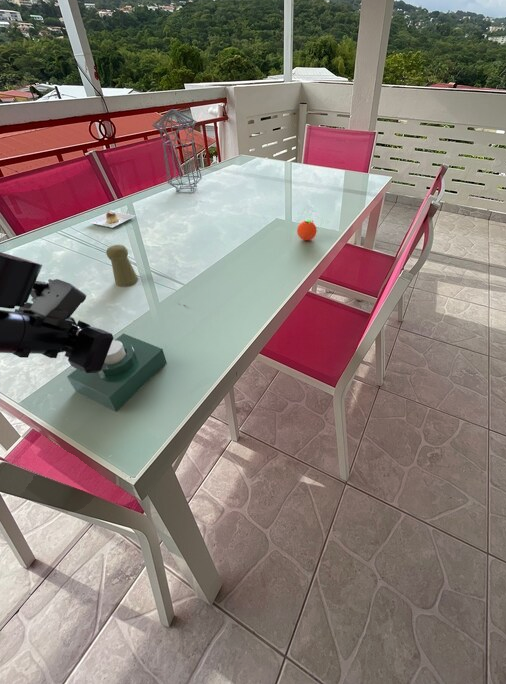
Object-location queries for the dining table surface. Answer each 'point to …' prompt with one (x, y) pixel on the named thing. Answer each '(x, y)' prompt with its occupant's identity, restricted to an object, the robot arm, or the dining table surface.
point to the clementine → (306, 230)
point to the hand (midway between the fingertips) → (104, 339)
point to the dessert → (112, 219)
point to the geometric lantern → (178, 115)
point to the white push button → (115, 353)
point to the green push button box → (120, 374)
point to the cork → (121, 266)
